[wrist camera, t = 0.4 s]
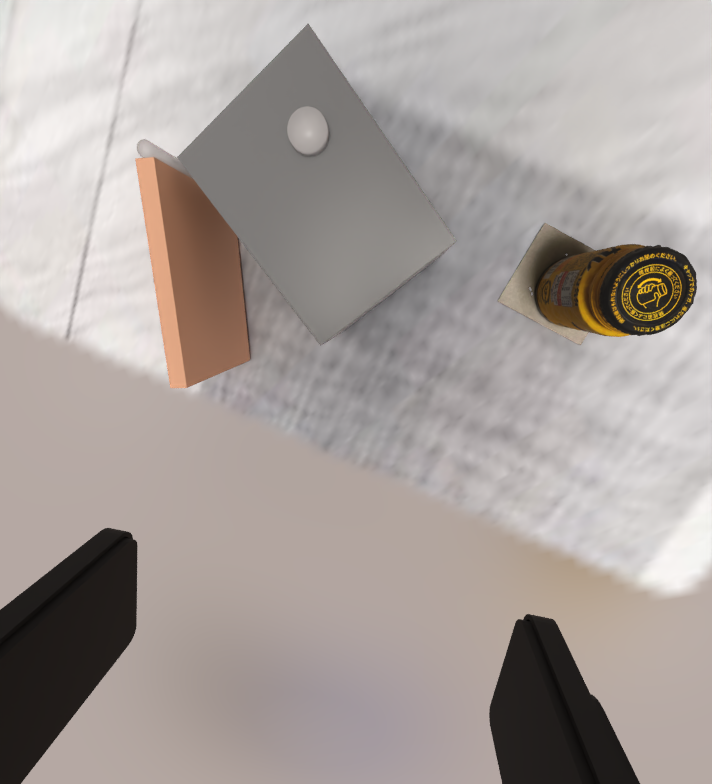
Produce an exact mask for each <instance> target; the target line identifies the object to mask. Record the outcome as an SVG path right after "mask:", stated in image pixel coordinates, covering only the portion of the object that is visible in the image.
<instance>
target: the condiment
mask: <svg viewBox="0 0 712 784" xmlns="http://www.w3.org/2000/svg"><path fill="white" fill-rule="evenodd" d="M565 254H568V255H567V256H566V255H565ZM696 282H697V281H696V272H695V270H694V268H693V267H692V265H691V264H690V262H689V260H688V259H687V257H686V256H684V255H683V254H681V253H679V252H678V251H675V250H673V249H670V248H669V247H661V245H656V246H654V247H653V246H642V245H636V244H628V245H620V246H616V247H610V248H606V249H601V250H597V251H595V250H593V249H591V248H590V247H588V246H586V245H584V244H583V243H581V242H579V241H577V240H575V239H573V238H572V237H570V236H568V235H566V234H564V233H562V232H560V231H559V230H557V229H556V228H554V227H552V226H550V225H548V224H546V223H545V224H544V225H543V227H542V228H541V230H540V232H539V233H538V235H537V236H536V238H535V240H534V241H533V243H532V245H531V246H530V248H529V250H528V251H527V253H526V254H525V256H524V258H523V259H522V261H521V263H520V264H519V266H518V268H517V269H516V271H515V273H514V274H513V276H512V278H511V280H510V281H509V283H508V284H507V286H506V288H505V290H504V291H503V293H502V295H501V296H500V298H499V300H498V302H500V303H502V304H504V305H506V306H507V307H509V308H511V309H513V310H515V311H517V312H519V313H521V314H523V315H524V316H526V317H528V318H530V319H532V320H534V321H535V322H537V323H539V324H541V325H543V326H545V327H547V328H548V329H550V330H552V331H554V332H556V333H558V334H560V335H562V336H563V337H565V338H567V339H569V340H571V341H573V342H575V343H577V344H579V345H581V343H582V342H583V340H584V339H585V337H586V336H587V334H588V333H589V332H592V333H596V334H600V335H604V336H616V337H622V336H628V335H638V336H641V335H651V334H656V333H659V332H661V331H664V330H665V329H667V328H669V327H671V326H673V325H674V324H675V323H677V322H678V321H679V320H680V319H681V318H682V317H683V315H684V314H685V313H686V312H687V311H688V310H689V308H690V306H691V305H692V304H693V301H694V297H695V294H696V290H697V286H696ZM529 287H531V289H532V292H533V296H531V292H530V290H529Z"/></svg>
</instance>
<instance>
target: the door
mask: <svg viewBox="0 0 712 784" xmlns="http://www.w3.org/2000/svg"><path fill="white" fill-rule="evenodd" d="M137 151H138V153H139V155H140V156H141V157H143V158H138V159H136V166H137V173H138V179H139V186H140V192H141V199H142V205H143V212H144V218H145V225H146V231H147V238H148V244H149V251H150V257H151V264H152V271H153V277H154V284H155V290H156V297H157V303H158V310H159V316H160V323H161V329H162V336H163V342H164V349H165V355H166V362H167V369H168V375H169V382H170V388H188V387H190V386H192V385H194V384H197V383H199V382H201V381H204V380H206V379H208V378H211V377H213V376H215V375H217V374H220V373H222V372H224V371H227V370H229V369H231V368H233V367H236V366H238V365H240V364H243V363H245V362H247V361H249V360H250V354H249V344H248V335H247V325H246V315H245V306H244V296H243V286H242V276H241V267H240V257H239V247H238V238H237V235H236V234H235V233H234V231H233V230H232V229H231V227H230V226H229V225H228V224H227V222H226V221H225V220H224V218H223V217H222V216H221V214H220V213H219V212H218V210H217V209H216V208H215V207H214V205H213V204H212V203H211V201H210V200H209V199H208V197H207V196H206V195H205V193H204V192H203V191H202V190H201V188H200V187H199V186H198V184H197V183H196V182H195V180H194V179H193V178H192V176H191V175H190V174H189V173H188V171H187V170H186V169H185V167H184V166H183V165H182V163H181V162H180V161H179V159H177V158H176V157H174V156H172V155H171V154H169V153H167V152H166V151H164V150H163V149H161V148H159V147H158V146H156V145H154V144H153V143H151V142H149V141H148V140H145V139H143V140H140V141H139V142H138V144H137Z"/></svg>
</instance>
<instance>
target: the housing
mask: <svg viewBox="0 0 712 784" xmlns="http://www.w3.org/2000/svg"><path fill="white" fill-rule="evenodd" d="M177 158H178V159H179V161H180V162H181V163H182V165H183V166H184V167H185V169H186V170H187V171H188V173H189V174H190V175H191V176H192V178H193V179H194V180H195V182H196V183H197V184H198V186H199V187H200V188H201V190H202V191H203V192H204V193H205V195H206V196H207V197H208V199H209V200H210V201H211V203H212V204H213V205H214V207H215V208H216V209H217V210H218V212H219V213H220V214H221V216H222V217H223V218H224V220H225V221H226V222H227V224H228V225H229V226H230V227H231V229H232V230H233V231H234V233H235V234H236V235H237V237H238V238H239V239H240V241H241V242H242V243H243V245H244V246H245V247H246V248H247V250H248V251H249V252H250V254H251V255H252V256H253V258H254V259H255V260H256V262H257V263H258V264H259V265H260V267H261V268H262V269H263V271H264V272H265V273H266V275H267V276H268V277H269V279H270V280H271V281H272V282H273V284H274V285H275V286H276V288H277V289H278V290H279V292H280V293H281V294H282V296H283V297H284V298H285V299H286V301H287V302H288V303H289V305H290V306H291V307H292V309H293V310H294V311H295V313H296V314H297V315H298V317H299V318H300V319H301V320H302V322H303V323H304V324H305V326H306V327H307V328H308V330H309V331H310V332H311V334H312V335H313V336H314V337H315V339H316V340H317V341H318V343H319V344H320V345H323V344H324V343H326V342H327V341H329V340H331V339H332V338H334V337H335V336H337V335H338V334H340V333H341V332H343V331H344V330H346V329H347V328H348V327H350V326H351V325H352V324H353V323H355V322H356V321H357V320H359V319H360V318H361V317H363V316H364V315H365V314H366V313H368V312H369V311H370V310H372V309H373V308H374V307H376V306H377V305H378V304H379V303H381V302H382V301H383V300H385V299H386V298H387V297H389V296H390V295H391V294H392V293H394V292H395V291H396V290H398V289H399V288H400V287H402V286H403V285H404V284H405V283H407V282H408V281H409V280H411V279H412V278H413V277H415V276H416V275H417V274H418V273H420V272H421V271H422V270H424V269H425V268H426V267H428V266H429V265H430V264H431V263H433V262H434V261H435V260H437V259H438V258H439V257H440V256H441V255H442V254H444V253H445V252H446V251H447V250H448V249H449V248H450V247H451V246H452V245H453V244H454V243H455V242H456V239H455V238H454V236H453V235H452V234H451V232H450V231H449V229H448V228H447V226H446V225H445V223H444V222H443V220H442V219H441V217H440V216H439V214H438V213H437V212H436V210H435V209H434V207H433V206H432V204H431V203H430V201H429V200H428V198H427V197H426V195H425V194H424V192H423V191H422V190H421V188H420V187H419V185H418V184H417V182H416V181H415V179H414V178H413V176H412V175H411V173H410V172H409V170H408V169H407V168H406V166H405V165H404V163H403V162H402V160H401V159H400V157H399V156H398V154H397V153H396V151H395V150H394V149H393V147H392V146H391V144H390V143H389V141H388V140H387V138H386V137H385V135H384V134H383V132H382V131H381V129H380V128H379V127H378V125H377V124H376V122H375V121H374V119H373V118H372V116H371V115H370V113H369V112H368V110H367V109H366V107H365V106H364V105H363V103H362V102H361V100H360V99H359V97H358V96H357V94H356V93H355V91H354V90H353V88H352V87H351V85H350V84H349V83H348V81H347V80H346V78H345V77H344V75H343V74H342V72H341V71H340V69H339V68H338V66H337V65H336V63H335V62H334V61H333V59H332V58H331V56H330V55H329V53H328V52H327V50H326V49H325V47H324V46H323V44H322V43H321V41H320V40H319V39H318V37H317V36H316V34H315V33H314V31H313V30H312V28H311V27H310V25H309V24H307V25H306V26H305V27H304V28H303V29H302V30H301V31H300V33H299V34H298V35H297V36H296V37H295V38H294V39H293V40H292V41H291V42H290V43H289V44H288V45H287V46H286V47H285V48H284V49H283V50H282V51H281V52H280V53H279V54H278V55H277V56H276V57H275V58H274V59H273V60H272V61H271V62H270V63H269V64H268V65H267V66H266V67H265V68H264V69H263V70H262V71H261V72H260V73H259V74H258V75H257V76H256V77H255V78H254V79H253V80H252V82H251V83H250V84H249V85H248V86H247V87H246V88H245V89H244V90H243V91H242V92H241V93H240V94H239V95H238V96H237V97H236V98H235V99H234V100H233V101H232V102H231V103H230V104H229V105H228V106H227V107H226V108H225V109H224V110H223V111H222V112H221V113H220V114H219V115H218V116H217V117H216V118H215V119H214V120H213V121H212V122H211V123H210V124H209V125H208V126H207V127H206V128H205V129H204V131H203V132H202V133H201V134H200V135H199V136H198V137H197V138H196V139H195V140H194V141H193V142H192V143H191V144H190V145H189V146H188V147H187V148H186V149H185V150H184V151H183V152H182V153H181V154H180V155H179V156H178V157H177Z"/></svg>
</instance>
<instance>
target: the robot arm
mask: <svg viewBox="0 0 712 784" xmlns="http://www.w3.org/2000/svg"><path fill="white" fill-rule="evenodd" d="M136 609H137V542H136V541H135V540H133V538H132V534H131V533H129V532H126V531H121V530H116V529H111V528H105V529H103V530H102V531H100V532H99V533H98V534H97V535H95V536H94V537H92V538H91V539H90V540H89V541H87V542H86V543H85V544H84V545H82V546H81V547H80V548H79V549H77V550H76V551H75V552H73V553H72V554H71V555H70V556H68V557H67V558H66V559H64V560H63V561H62V562H61V563H59V564H58V565H57V566H56V567H54V568H53V569H52V570H51V571H49V572H48V573H47V574H45V575H44V576H43V577H42V578H40V579H39V580H38V581H37V582H35V583H34V584H33V585H31V586H30V587H29V588H28V589H26V590H25V591H24V592H23V593H21V594H20V595H19V596H17V597H16V598H15V599H14V600H13V601H11V602H10V603H9V604H7V605H6V606H5V607H4V608H2V609H1V610H0V784H21V783H22V781H23V780H24V779H25V777H26V776H27V775H28V773H29V772H30V771H31V770H32V768H33V767H34V766H35V765H36V763H37V762H38V761H39V759H40V758H41V757H42V756H43V754H44V753H45V752H46V750H47V749H48V748H49V747H50V745H51V744H52V743H53V741H54V740H55V739H56V738H57V736H58V735H59V733H60V732H61V731H62V730H63V729H64V727H65V726H66V725H67V723H68V722H69V721H70V720H71V718H72V717H73V715H74V714H75V713H76V712H77V711H78V709H79V708H80V707H81V705H82V704H83V703H84V701H85V700H86V699H87V698H88V696H89V695H90V694H91V693H92V691H93V690H94V688H95V687H96V686H97V685H98V684H99V682H100V681H101V680H102V678H103V677H104V676H105V675H106V673H107V672H108V671H109V669H110V668H111V667H112V666H113V664H114V663H115V662H116V660H117V659H118V658H119V657H120V655H121V654H122V653H123V651H124V650H125V649H126V648H127V646H128V645H129V643H130V642H131V640H132V638H133V636H134V634H135V630H136ZM489 714H490V726H491V731H492V736H493V741H494V745H495V751H496V755H497V760H498V765H499V770H500V775H501V779H502V784H640V783H639V781H638V779H637V777H636V775H635V773H634V771H633V768H632V766H631V764H630V762H629V761H628V758H627V756H626V754H625V752H624V750H623V748H622V746H621V744H620V742H619V740H618V738H617V736H616V734H615V732H614V730H613V728H612V726H611V724H610V722H609V720H608V718H607V716H606V714H605V711H604V709H603V708H602V706H601V704H600V703H599V701H598V700H597V699H596V698H595V697H594V696H593V695H591V694H590V693H589V690H588V688H587V686H586V684H585V682H584V680H583V678H582V676H581V674H580V672H579V669H578V667H577V666H576V663H575V661H574V659H573V657H572V655H571V653H570V651H569V648H568V646H567V644H566V642H565V640H564V638H563V636H562V634H561V632H560V630H559V628H558V625H557V624H556V622H555V621H554V620H553V619H549V618H545V617H540V616H535V615H530V614H527V615H526V616H525V617H524V619H523V620H520V619H518V620H517V621H516V623H515V626H514V630H513V633H512V636H511V640H510V643H509V646H508V650H507V653H506V656H505V659H504V662H503V666H502V669H501V672H500V676H499V679H498V682H497V685H496V689H495V692H494V695H493V699H492V702H491V705H490V713H489Z"/></svg>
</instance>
